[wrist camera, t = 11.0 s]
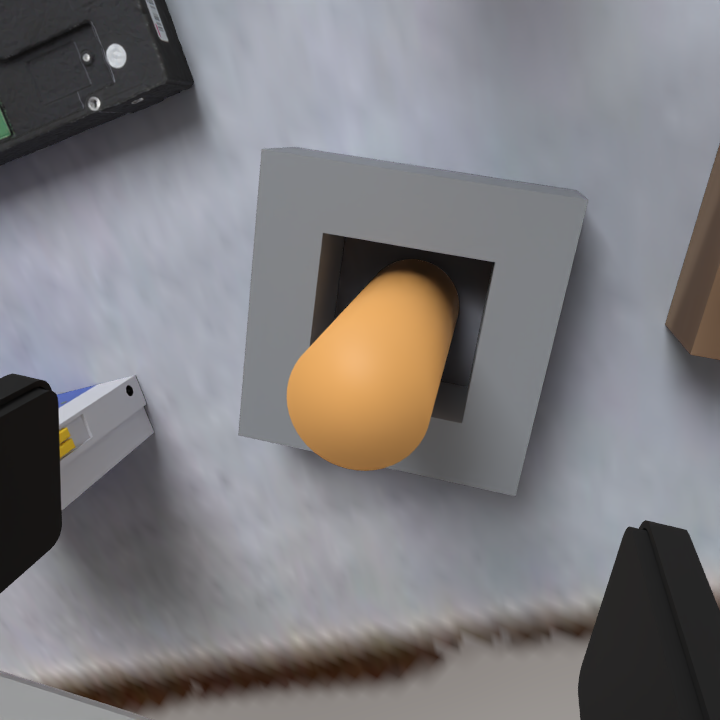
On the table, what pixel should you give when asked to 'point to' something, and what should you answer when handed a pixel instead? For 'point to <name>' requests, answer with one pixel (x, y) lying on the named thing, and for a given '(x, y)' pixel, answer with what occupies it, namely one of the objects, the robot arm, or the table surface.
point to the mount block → (701, 279)
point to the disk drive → (81, 67)
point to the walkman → (98, 432)
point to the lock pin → (376, 369)
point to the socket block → (426, 232)
